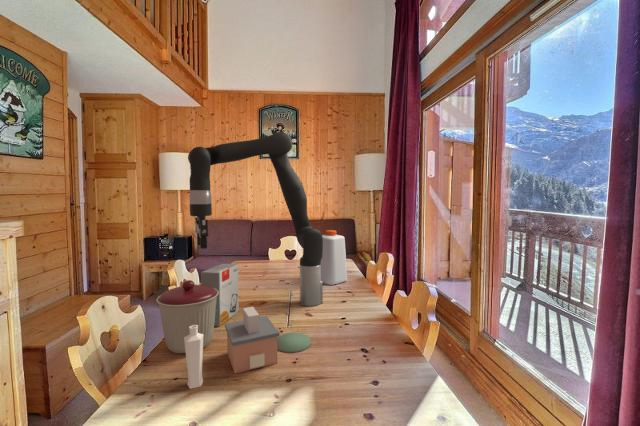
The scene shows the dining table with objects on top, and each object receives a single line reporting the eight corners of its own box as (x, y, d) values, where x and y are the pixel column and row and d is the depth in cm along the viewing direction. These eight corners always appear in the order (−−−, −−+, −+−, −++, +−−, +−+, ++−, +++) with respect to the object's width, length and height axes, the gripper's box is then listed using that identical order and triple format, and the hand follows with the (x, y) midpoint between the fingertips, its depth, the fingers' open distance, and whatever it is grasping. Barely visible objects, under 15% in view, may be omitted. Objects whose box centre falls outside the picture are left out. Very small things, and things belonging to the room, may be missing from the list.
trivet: (302, 331, 107) (302, 330, 107) (317, 347, 96) (317, 345, 96) (269, 339, 102) (269, 337, 102) (280, 356, 91) (280, 354, 91)
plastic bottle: (311, 280, 170) (311, 230, 168) (331, 275, 180) (331, 228, 178) (331, 286, 159) (331, 233, 157) (350, 281, 169) (350, 230, 167)
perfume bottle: (188, 378, 80) (187, 323, 79) (206, 378, 80) (204, 322, 79) (182, 390, 75) (180, 331, 74) (200, 389, 76) (198, 330, 75)
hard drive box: (219, 327, 111) (218, 273, 109) (200, 325, 112) (199, 272, 111) (239, 311, 126) (238, 263, 125) (222, 310, 127) (221, 262, 126)
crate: (266, 344, 98) (265, 320, 98) (278, 364, 87) (278, 337, 86) (227, 352, 93) (226, 327, 92) (235, 375, 81) (234, 346, 81)
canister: (191, 365, 86) (189, 292, 85) (144, 354, 92) (141, 285, 91) (231, 337, 103) (230, 275, 102) (189, 329, 109) (187, 271, 108)
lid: (266, 322, 98) (266, 300, 98) (279, 339, 87) (279, 315, 86) (225, 330, 93) (224, 307, 92) (232, 349, 81) (231, 324, 81)
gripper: (214, 203, 107) (216, 248, 108) (208, 202, 120) (209, 243, 121) (191, 203, 104) (193, 250, 105) (187, 202, 116) (189, 244, 117)
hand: (202, 246), depth 113 cm, fingers open, 8 cm apart
